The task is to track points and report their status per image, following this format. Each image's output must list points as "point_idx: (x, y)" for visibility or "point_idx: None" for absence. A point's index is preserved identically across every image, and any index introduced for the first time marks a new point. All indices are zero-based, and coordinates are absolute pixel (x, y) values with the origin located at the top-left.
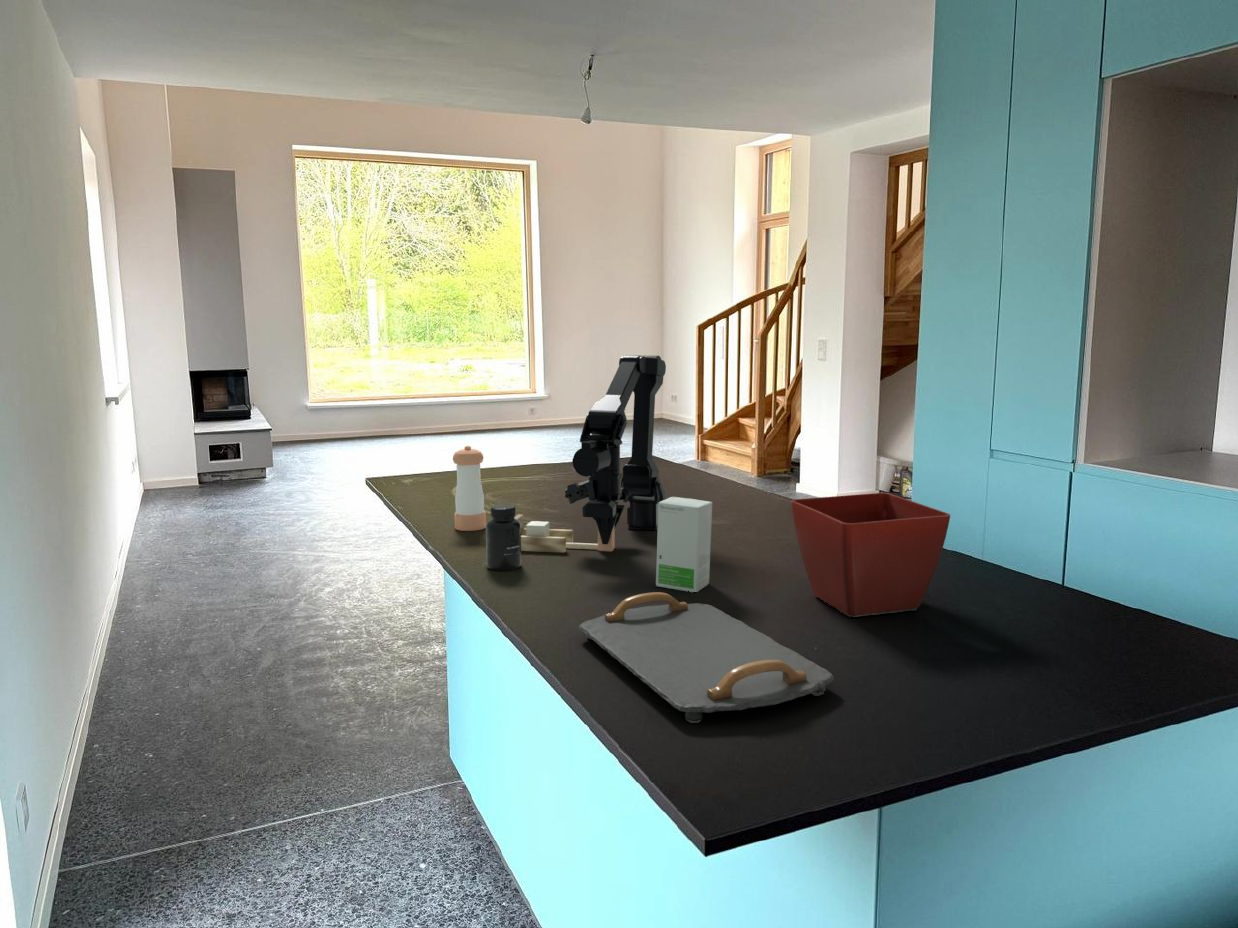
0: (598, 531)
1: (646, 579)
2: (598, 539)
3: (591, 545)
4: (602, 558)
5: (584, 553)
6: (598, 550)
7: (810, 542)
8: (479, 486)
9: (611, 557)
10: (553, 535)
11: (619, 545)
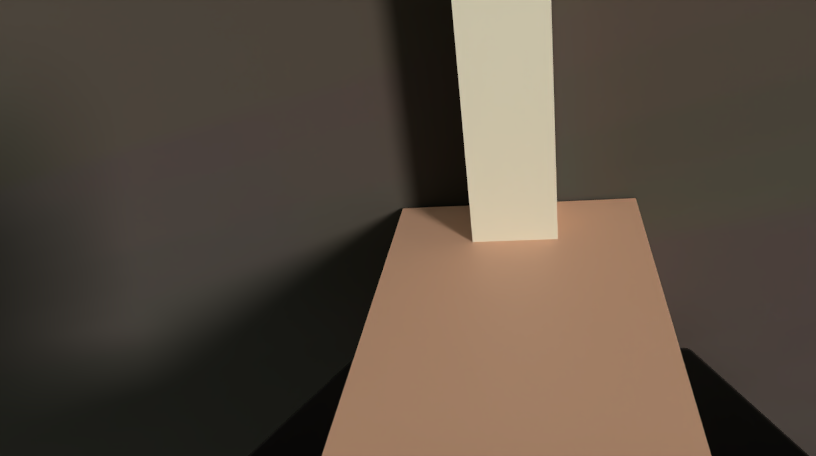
0: (330, 442)
1: None
2: (369, 324)
3: (465, 110)
4: (76, 342)
5: (193, 51)
6: (402, 219)
7: None
8: None
9: (163, 420)
10: None
11: (788, 415)
